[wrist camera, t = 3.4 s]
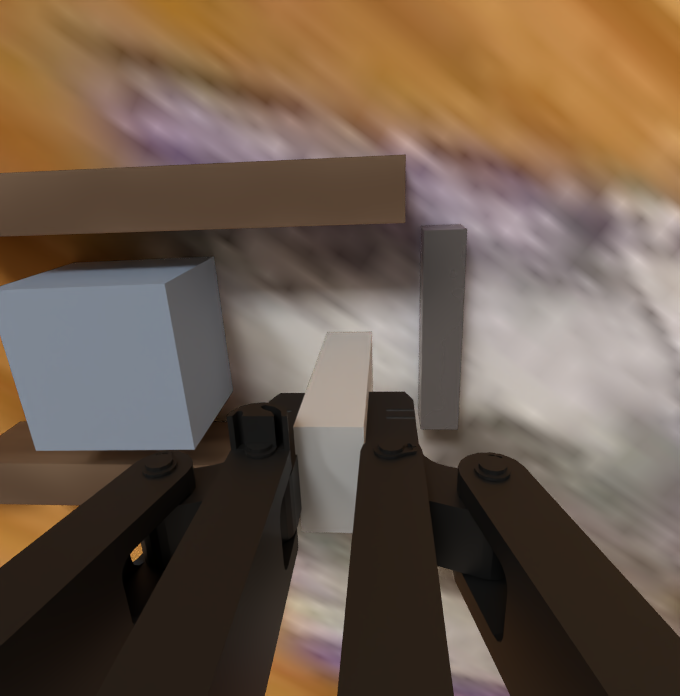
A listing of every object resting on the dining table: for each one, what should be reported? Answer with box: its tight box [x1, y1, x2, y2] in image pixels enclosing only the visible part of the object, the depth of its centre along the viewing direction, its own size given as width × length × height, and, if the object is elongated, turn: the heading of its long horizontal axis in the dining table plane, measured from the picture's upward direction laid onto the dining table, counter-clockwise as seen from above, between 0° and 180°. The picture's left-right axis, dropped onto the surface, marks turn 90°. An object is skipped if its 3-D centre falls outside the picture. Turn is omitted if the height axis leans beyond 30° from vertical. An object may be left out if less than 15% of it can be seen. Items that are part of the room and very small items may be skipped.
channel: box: [0, 155, 406, 505], centre depth 20 cm, size 13×18×4 cm
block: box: [0, 256, 233, 451], centre depth 19 cm, size 6×6×5 cm
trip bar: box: [418, 224, 467, 429], centre depth 20 cm, size 8×2×2 cm, turn 2°
